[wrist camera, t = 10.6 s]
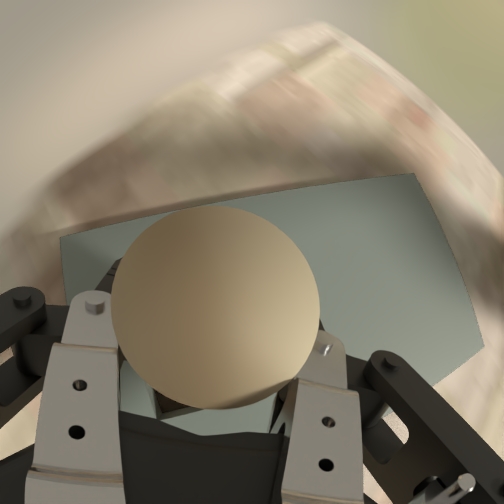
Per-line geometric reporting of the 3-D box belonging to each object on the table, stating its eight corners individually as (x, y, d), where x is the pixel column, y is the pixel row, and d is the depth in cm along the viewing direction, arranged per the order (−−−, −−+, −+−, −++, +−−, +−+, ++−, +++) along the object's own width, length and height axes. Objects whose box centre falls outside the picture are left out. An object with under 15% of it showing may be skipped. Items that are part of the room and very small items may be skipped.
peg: (230, 291, 15) (283, 184, 7) (258, 377, 14) (355, 371, 6) (142, 313, 14) (88, 224, 6) (168, 403, 13) (138, 443, 5)
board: (393, 192, 24) (413, 173, 22) (457, 352, 20) (484, 346, 17) (75, 257, 17) (59, 237, 15) (135, 486, 13) (127, 504, 11)
